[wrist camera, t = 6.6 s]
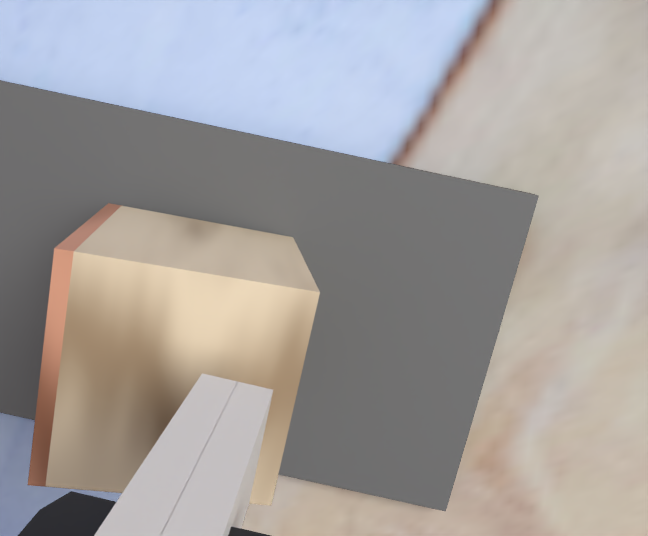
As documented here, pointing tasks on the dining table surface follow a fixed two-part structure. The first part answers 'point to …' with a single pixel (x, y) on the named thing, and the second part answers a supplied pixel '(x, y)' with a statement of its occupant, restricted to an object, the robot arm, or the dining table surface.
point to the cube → (163, 339)
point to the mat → (319, 255)
